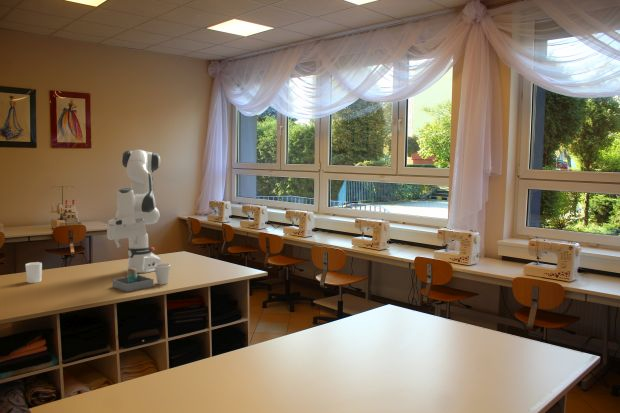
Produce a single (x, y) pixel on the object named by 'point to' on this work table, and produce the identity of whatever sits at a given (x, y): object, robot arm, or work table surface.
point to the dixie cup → (162, 273)
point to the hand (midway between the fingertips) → (127, 246)
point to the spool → (132, 275)
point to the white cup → (34, 272)
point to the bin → (132, 284)
